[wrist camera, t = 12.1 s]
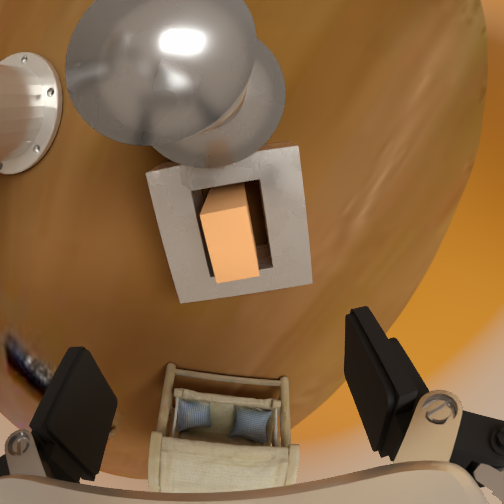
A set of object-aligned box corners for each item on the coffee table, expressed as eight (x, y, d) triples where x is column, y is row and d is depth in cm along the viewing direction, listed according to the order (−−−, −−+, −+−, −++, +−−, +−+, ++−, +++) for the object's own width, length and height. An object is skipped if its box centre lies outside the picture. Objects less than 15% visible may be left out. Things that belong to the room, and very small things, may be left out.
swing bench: (289, 373, 37) (308, 479, 23) (272, 419, 40) (283, 511, 27) (166, 360, 35) (142, 467, 21) (166, 408, 39) (150, 501, 25)
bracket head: (188, 275, 31) (142, 462, 12) (142, 61, 23) (-15, -11, 4) (301, 258, 30) (373, 437, 12) (270, 36, 22) (336, -106, 4)
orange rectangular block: (221, 241, 29) (216, 283, 22) (210, 188, 27) (199, 214, 20) (254, 235, 29) (259, 276, 22) (244, 182, 27) (246, 206, 20)
